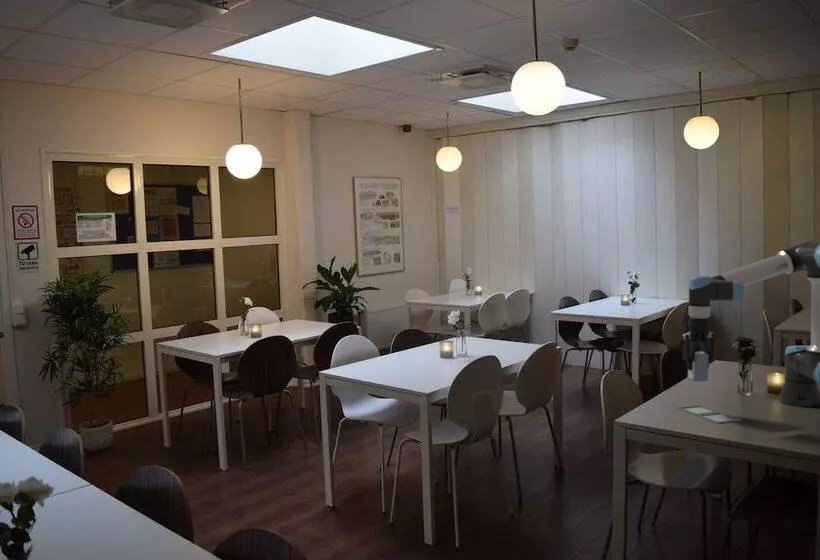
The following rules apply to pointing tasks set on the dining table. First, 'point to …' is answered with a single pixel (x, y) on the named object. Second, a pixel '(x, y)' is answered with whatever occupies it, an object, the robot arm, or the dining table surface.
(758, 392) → the dining table surface
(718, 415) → the dock
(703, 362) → the blue rectangular block
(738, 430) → the dining table surface
